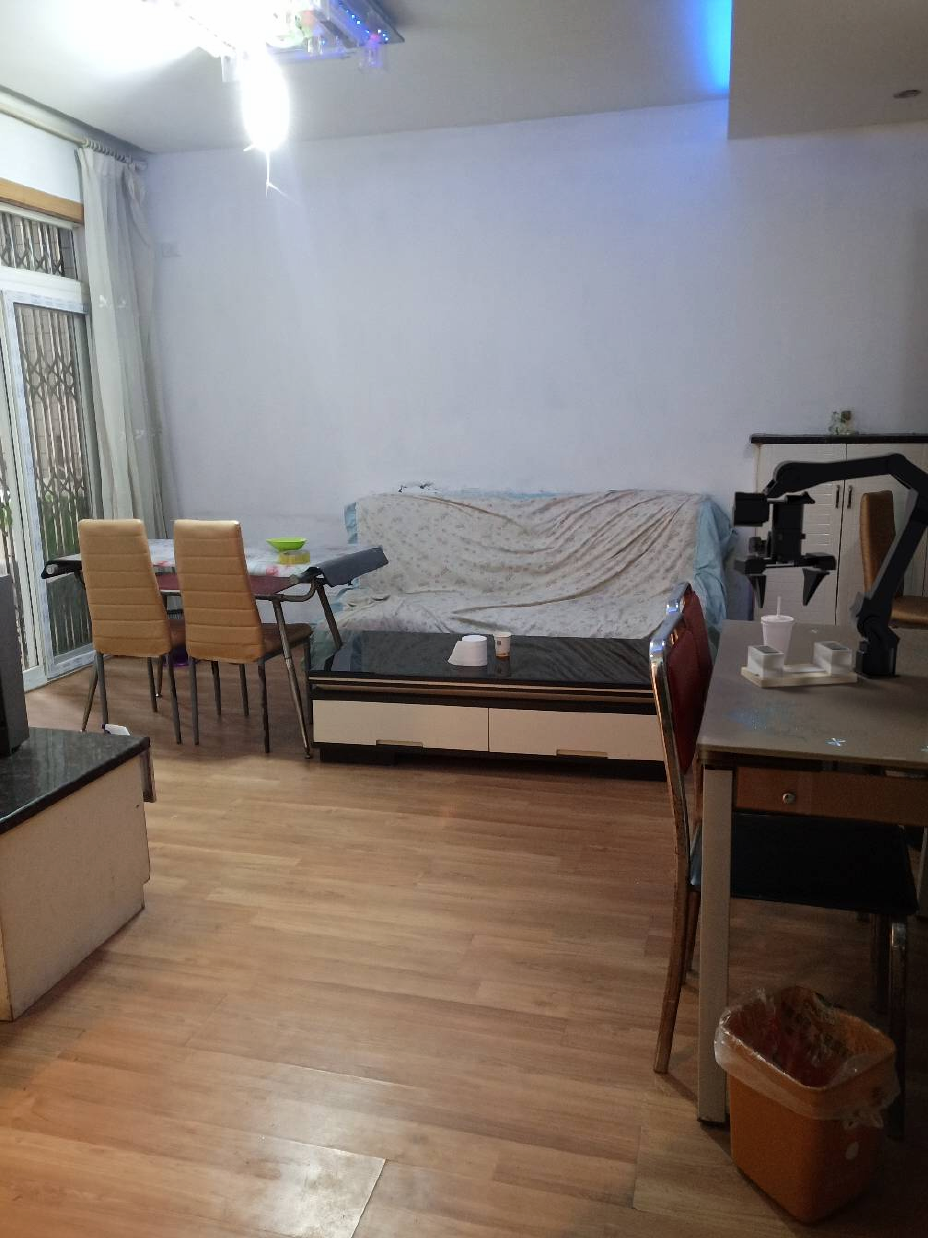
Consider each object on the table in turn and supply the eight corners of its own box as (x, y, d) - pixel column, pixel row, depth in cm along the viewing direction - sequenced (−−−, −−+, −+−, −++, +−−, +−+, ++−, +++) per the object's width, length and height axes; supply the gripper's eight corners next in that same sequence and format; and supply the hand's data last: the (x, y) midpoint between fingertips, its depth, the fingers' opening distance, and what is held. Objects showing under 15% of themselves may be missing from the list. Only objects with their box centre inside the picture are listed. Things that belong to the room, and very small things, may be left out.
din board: (833, 669, 193) (835, 639, 191) (856, 682, 184) (858, 650, 183) (741, 674, 191) (742, 644, 189) (760, 687, 182) (762, 655, 180)
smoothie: (795, 663, 198) (799, 595, 195) (787, 670, 193) (791, 601, 190) (763, 659, 201) (767, 592, 198) (754, 666, 196) (758, 598, 193)
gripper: (811, 520, 195) (807, 596, 199) (723, 524, 193) (720, 601, 196) (840, 527, 185) (835, 607, 188) (748, 531, 182) (744, 612, 185)
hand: (782, 606), depth 190 cm, fingers open, 9 cm apart
